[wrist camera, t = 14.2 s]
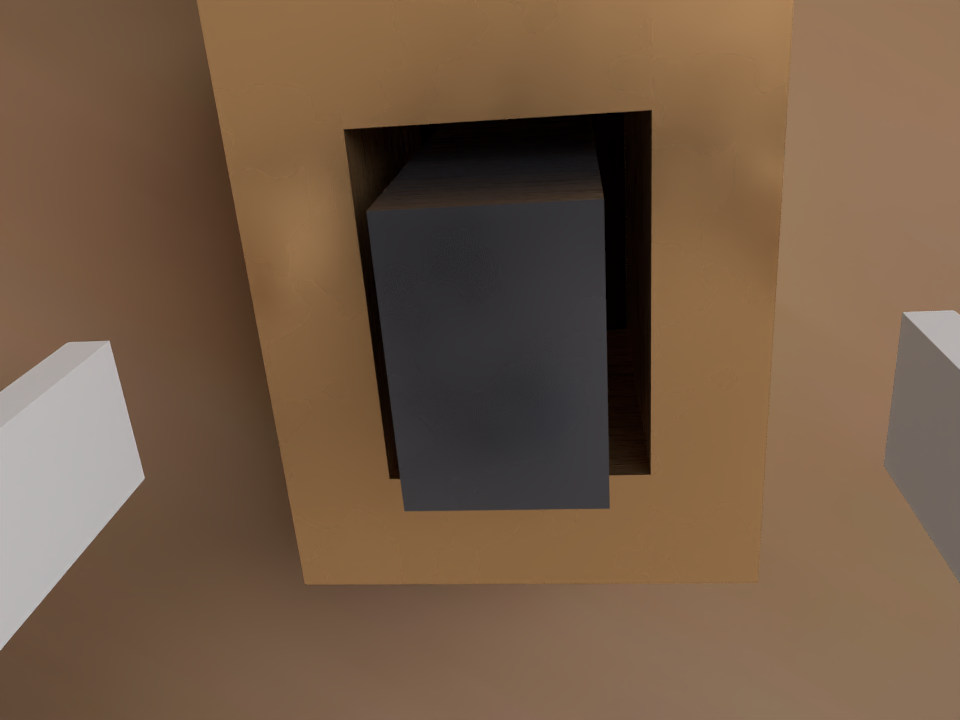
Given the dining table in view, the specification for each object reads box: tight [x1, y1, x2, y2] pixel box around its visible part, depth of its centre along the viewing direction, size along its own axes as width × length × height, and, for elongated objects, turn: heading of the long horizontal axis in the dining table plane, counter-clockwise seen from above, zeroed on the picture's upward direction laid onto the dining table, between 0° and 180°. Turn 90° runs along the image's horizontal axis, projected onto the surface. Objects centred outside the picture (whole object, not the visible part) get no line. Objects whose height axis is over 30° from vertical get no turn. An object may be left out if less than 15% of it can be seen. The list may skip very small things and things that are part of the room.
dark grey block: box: [366, 114, 610, 511], centre depth 21 cm, size 4×6×12 cm, turn 4°
